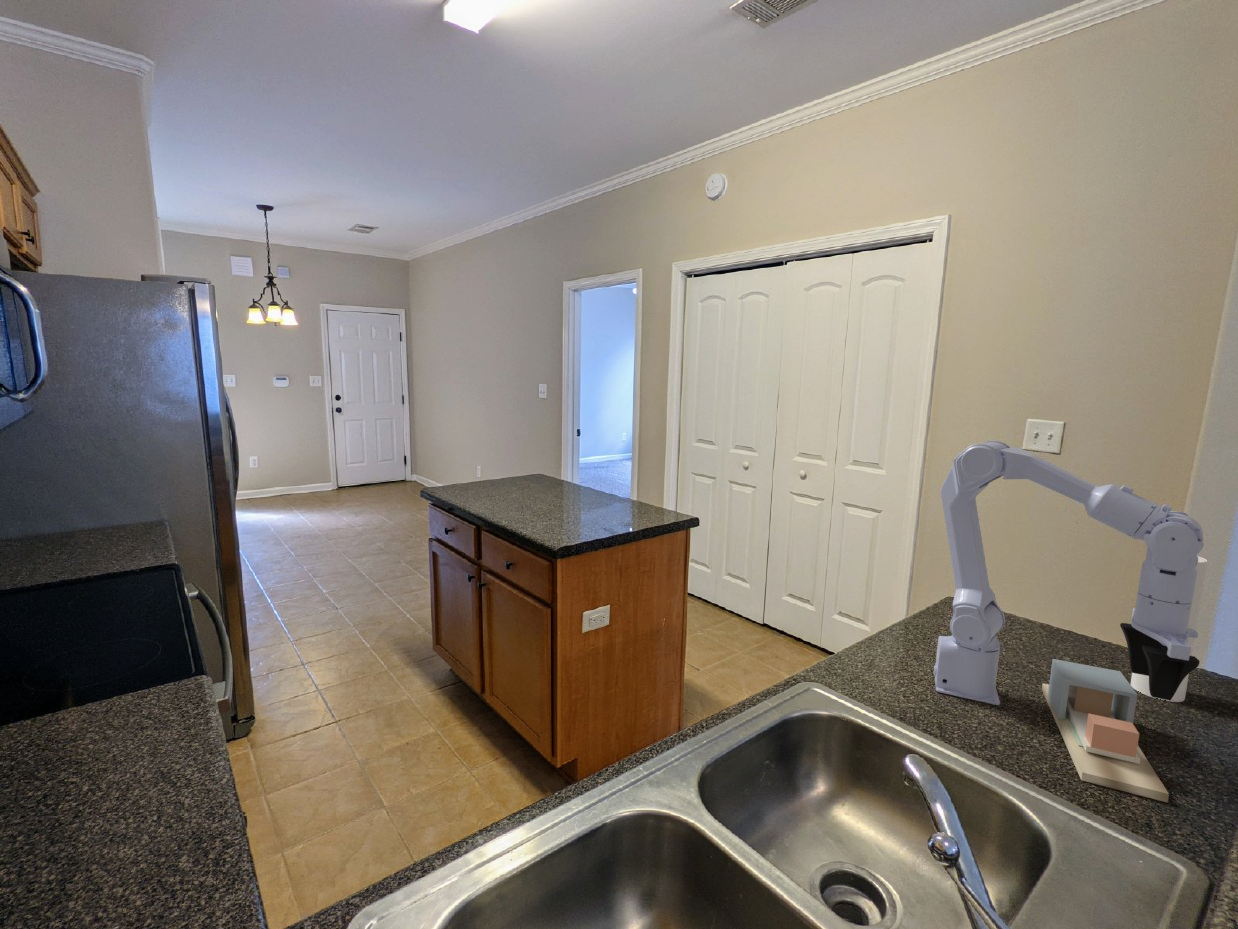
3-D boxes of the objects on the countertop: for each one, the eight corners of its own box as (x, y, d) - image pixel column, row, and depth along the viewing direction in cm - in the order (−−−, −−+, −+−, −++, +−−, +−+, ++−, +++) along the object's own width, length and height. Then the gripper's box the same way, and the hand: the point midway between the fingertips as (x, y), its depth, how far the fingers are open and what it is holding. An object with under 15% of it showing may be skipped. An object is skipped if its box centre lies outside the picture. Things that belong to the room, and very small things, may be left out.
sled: (1085, 751, 83) (1090, 717, 82) (1058, 695, 98) (1062, 666, 97) (1139, 764, 80) (1145, 728, 79) (1103, 705, 95) (1107, 675, 94)
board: (1081, 780, 79) (1082, 771, 79) (1041, 689, 103) (1042, 682, 102) (1167, 802, 75) (1169, 792, 75) (1105, 702, 99) (1106, 695, 98)
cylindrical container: (1196, 702, 99) (1220, 562, 96) (1155, 701, 99) (1176, 561, 96) (1158, 681, 106) (1179, 550, 103) (1119, 680, 106) (1139, 549, 103)
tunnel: (1057, 725, 92) (1063, 679, 91) (1047, 701, 99) (1052, 658, 98) (1130, 742, 88) (1137, 694, 87) (1113, 715, 95) (1120, 671, 94)
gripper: (1227, 620, 75) (1210, 717, 76) (1179, 586, 87) (1165, 670, 89) (1156, 610, 78) (1141, 703, 79) (1120, 578, 91) (1108, 659, 92)
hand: (1150, 685), depth 85 cm, fingers open, 7 cm apart
